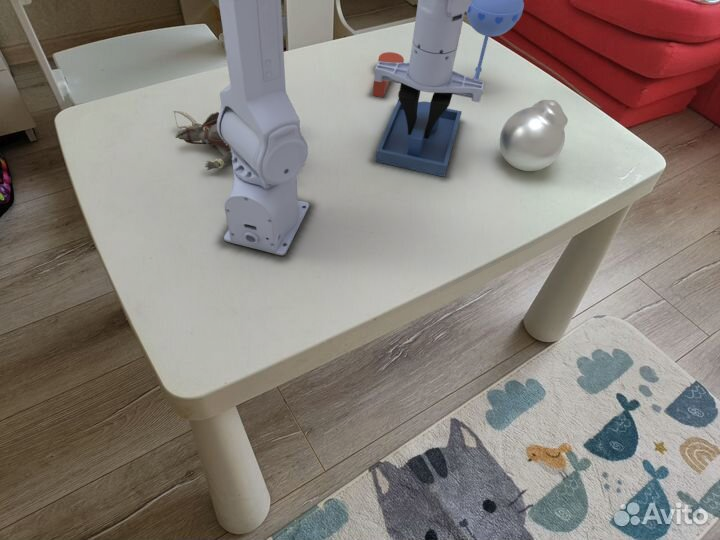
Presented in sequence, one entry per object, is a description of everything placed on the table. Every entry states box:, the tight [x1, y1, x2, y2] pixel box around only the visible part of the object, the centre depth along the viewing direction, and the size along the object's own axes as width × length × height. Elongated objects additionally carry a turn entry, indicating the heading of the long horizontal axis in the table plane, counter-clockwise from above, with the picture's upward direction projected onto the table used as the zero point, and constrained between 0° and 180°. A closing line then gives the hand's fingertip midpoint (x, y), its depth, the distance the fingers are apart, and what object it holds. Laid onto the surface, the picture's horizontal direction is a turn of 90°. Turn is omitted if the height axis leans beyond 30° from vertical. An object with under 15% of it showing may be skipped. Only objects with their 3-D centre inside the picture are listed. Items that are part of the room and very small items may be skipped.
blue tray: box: [375, 98, 462, 178], centre depth 78 cm, size 14×10×2 cm
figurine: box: [172, 110, 232, 171], centre depth 75 cm, size 20×6×17 cm
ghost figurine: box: [499, 99, 569, 172], centre depth 73 cm, size 9×10×10 cm
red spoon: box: [372, 51, 405, 98], centre depth 88 cm, size 11×4×3 cm, turn 164°
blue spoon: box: [407, 101, 440, 157], centre depth 77 cm, size 11×4×3 cm, turn 164°
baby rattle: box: [465, 0, 525, 81], centre depth 83 cm, size 9×9×18 cm
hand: (419, 132), depth 76 cm, fingers closed on blue spoon, 2 cm apart
